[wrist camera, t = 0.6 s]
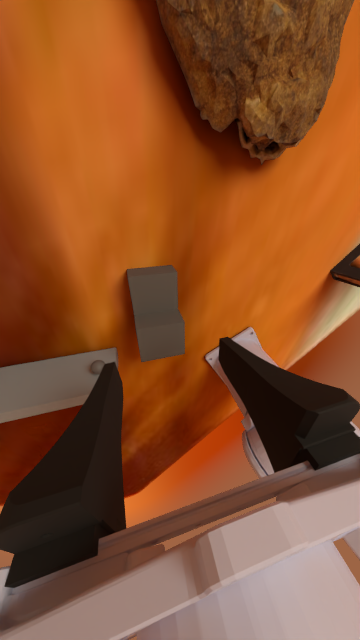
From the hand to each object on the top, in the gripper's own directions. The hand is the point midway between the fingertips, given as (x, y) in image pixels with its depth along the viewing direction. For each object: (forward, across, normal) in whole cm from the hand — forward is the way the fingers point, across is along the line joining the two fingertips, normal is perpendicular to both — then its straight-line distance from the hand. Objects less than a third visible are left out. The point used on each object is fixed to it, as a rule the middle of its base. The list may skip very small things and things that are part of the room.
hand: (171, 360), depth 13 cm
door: (+9, +12, +5) cm, 16 cm away
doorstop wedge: (+10, 0, 0) cm, 10 cm away
